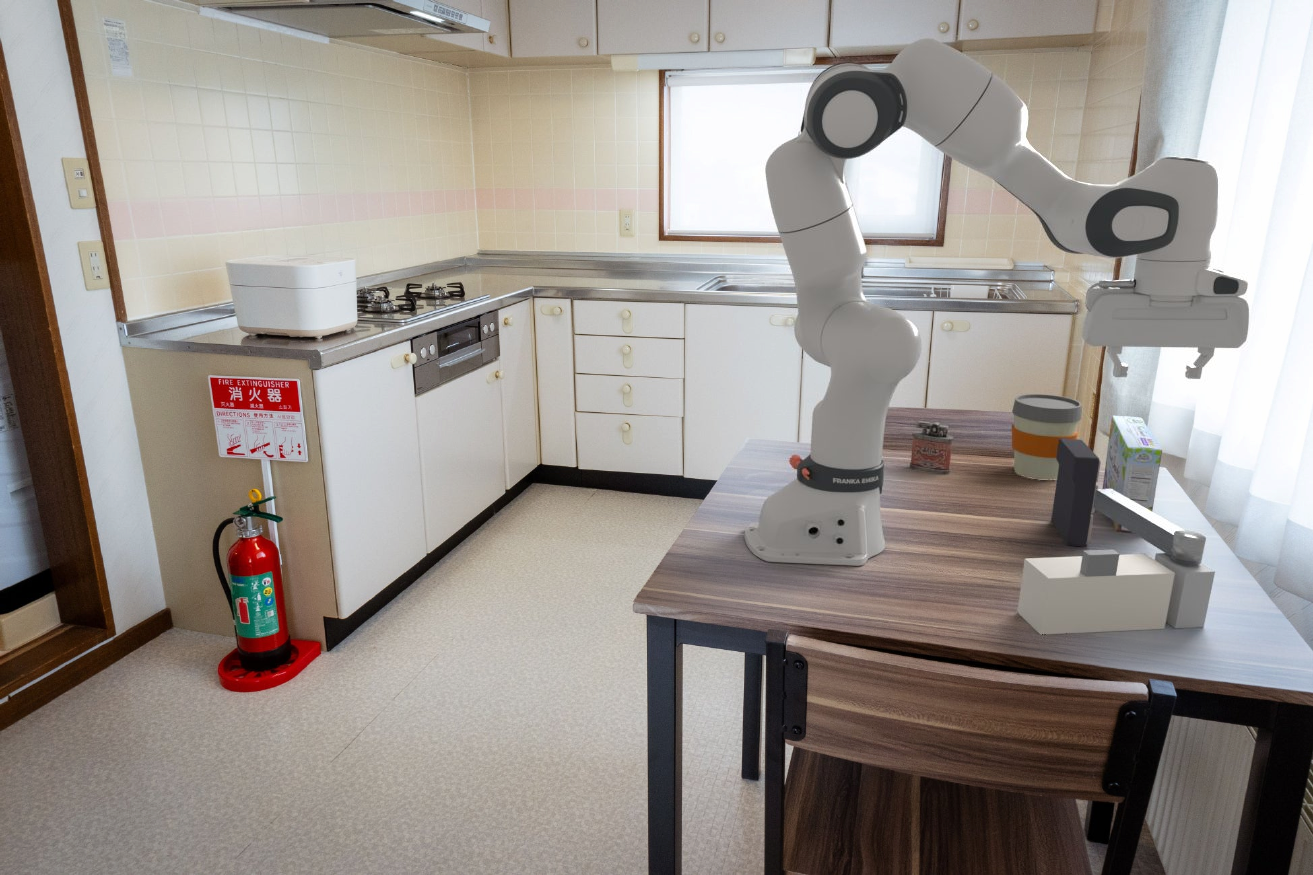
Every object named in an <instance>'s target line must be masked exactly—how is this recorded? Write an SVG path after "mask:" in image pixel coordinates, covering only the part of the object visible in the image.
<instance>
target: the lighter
mask: <svg viewBox="0 0 1313 875" xmlns="http://www.w3.org/2000/svg"><path fill="white" fill-rule="evenodd" d="M916 429H922V431H921V430H916V431H913V432H912V435H911V436H912V444H911V445H912V446H911V456H910V457H911V458H910V462H909V469H911V470H915V471H919V472H923V473H929V474H935V475H945V476H946V475H950V473H951V468H950V466H951V457H952V448H953V443H954V438H955V437H954V436H952V435H948V432H949V426H948V425H943V424H941V423H940V422H938V421H935V422H933V423H930V422H929V421H921V420H919V421H917V422H916ZM928 430H929V431H928Z"/></svg>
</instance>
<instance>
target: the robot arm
mask: <svg viewBox="0 0 1313 875" xmlns="http://www.w3.org/2000/svg"><path fill="white" fill-rule="evenodd" d="M1028 113H1029V112H1028V109H1027V105H1026V104H1025V103H1024V101H1023V100H1022V99H1021V98H1020V96H1019V95H1018V94H1017V93H1016V92H1015V91H1014V89H1013V88H1011V87H1010V86H1009V84H1008V83H1007V82H1005V81H1004V80H1003V79H1001V78H1000V77H999V76H998V75H996V74H995V73H993V72H992V71H991V70H990V69H988V68H987V67H986V66H984V65H983V64H981V63H980V62H978V61H976V60H975V59H973V58H972V57H970V56H968V55H967V54H965V53H963V52H962V51H961V50H958V49H955V48H954V47H952V46H950V45H948V44H946V43H943V42H940V41H939V40H937V39H934V38H921V39H917V40H916V41H914V42H912V43H910V44H909V45H907V46H906V47H905V48H903V49H902V50H901V51H900V52H899V53H898V54H897V55H896V56H895V58H894V59H893V61H892V62H891V64H889V65H888V66H887V67H885V68H883V69H880V70H872V69H870V68H868V67H867V66H865V65H862V64H861V63H856V62H853V61H852V62H851V61H846V62H839V63H835V64H833V65H831V66H829V67H826V68H825V69H824V70H823V71H822V72H821V73H819V74H818V76H817V77H815V79H814V80H813V82H812V84H811V86H810V88H809V90H808V92H807V95H806V100H805V104H804V111H803V115H802V116H803V117H802V120H801V126H800V134H798V136H796V137H794V138H792V139H790V140H787V141H786V142H784V143H782V144H780V146H778V147H777V148H776V149H774V150H773V152H772V153H771V154H770V155H769V157H768V159H767V161H766V164H765V170H764V171H765V180H766V188H767V192H768V197H769V198H768V200H769V203H770V206H771V210H772V215H773V219H774V222H775V225H776V229H777V231H778V232H777V233H778V234H779V238H780V240H781V244H782V247H783V249H784V253H785V255H786V258H787V261H788V264H789V268H790V270H791V273H792V274H791V275H792V277H793V281H794V286H795V294H796V301H797V302H796V304H797V315H796V318H795V321H794V326H793V328H794V329H793V330H794V337H795V340H796V342H797V344H798V345H799V347H800V348H801V349H802V351H804V352H805V353H806V354H807V355H808V357H810V358H811V359H812V360H814V361H815V362H817V363H819V364H822V365H824V366H827V367H828V368H830V372H831V373H830V379H829V382H828V386H827V388H826V391H825V394H824V396H823V399H821V400H819V402H818V403H816V405H814V407H813V411H812V417H811V419H812V420H811V421H812V422H811V433H810V434H811V436H810V439H811V440H810V452H809V455H808V456H806V457H805V458H804V459H802V458H801V456H800V455H798V454H792V455H791V456H790V457H789V459H788V462H789V464H790V465H791V468H793V470H796V478H794V480H793V481H791V482H790V483H788V484H787V485H785V486H783V487H782V488H781V489H779V490H778V491H775V492H774V493H773V494H771V495H770V496H768V497H767V498H766V499H765V500H764V501H763V504H762V507H761V509H760V512H759V518H758V521H757V522H752V523H749V524H748V525H747V526H746V527H745V530H744V541H745V545H746V546H747V547H748V549H749V550H750V552H751V553H753V555H755V556H756V557H757V558H759V559H761V560H763V561H765V562H768V563H769V562H770V563H787V564H788V563H789V564H790V563H792V564H811V565H812V564H813V565H833V566H834V565H836V566H855V567H856V566H858V567H859V566H863V565H865V564H866V563H867V562H868V560H869V559H870V558H872V557H875V556H876V555H879V554H880V553H882V552H883V551H884V550H885V548H886V540H885V537H884V533H883V525H882V517H881V495H882V493H883V492H882V491H883V486H884V479H885V467H884V466H885V463H884V460H883V448H884V447H883V446H884V436H885V429H886V427H885V426H886V420H887V413H888V411H889V407H890V403H891V401H892V398H893V395H894V393H895V391H896V389H897V387H898V385H899V383H900V382H901V381H902V380H903V379H905V378H906V377H907V376H908V375H910V373H912V372H913V370H914V369H915V368H916V366H917V365H918V362H919V359H920V358H921V354H922V338H921V334H920V332H919V329H918V328H917V326H916V325H914V323H913V322H912V321H910V320H909V319H908V318H906V317H905V316H903V315H902V314H900V313H898V311H896V310H894V309H892V308H889V307H885V306H882V305H879V304H878V305H877V304H874V303H870V302H869V301H868V300H867V299H866V296H865V294H864V292H863V290H864V289H863V284H862V283H863V282H862V281H863V280H862V279H863V278H862V273H863V272H862V269H863V267H864V265H865V264H866V261H867V257H868V251H867V250H868V249H867V247H866V246H867V245H866V243H865V239H864V237H863V234H862V230H861V226H860V224H859V221H858V216H857V213H856V209H855V207H854V203H853V200H852V196H851V194H850V191H849V187H848V184H847V179H846V172H845V170H846V163H847V160H851V159H856V158H860V157H863V156H864V155H866V154H868V153H870V152H871V151H873V150H875V149H876V148H877V147H878V146H879V145H881V144H882V143H883V142H884V141H886V140H887V139H888V138H889V137H891V136H892V135H894V134H895V133H896V132H898V131H899V130H900V129H901V128H902V127H903V128H906V129H908V130H911V131H912V132H914V133H916V134H917V135H918V136H920V137H922V138H923V139H924V140H925V141H926V142H928V143H929V144H931V145H932V146H934V147H935V148H936V150H937V149H938V150H939V151H940V152H942V154H945V155H946V156H948V157H949V158H951V159H952V160H954V161H956V162H958V163H959V164H961V165H963V166H966V167H967V168H969V169H971V170H974V171H976V172H978V173H979V174H982V175H984V176H986V177H988V178H990V179H991V180H993V181H994V182H995V183H997V184H998V185H1000V186H1001V187H1002V188H1003V189H1005V190H1006V191H1007V192H1009V193H1010V194H1011V195H1012V196H1014V198H1016V199H1017V200H1018V201H1020V202H1021V204H1023V205H1024V206H1026V207H1028V209H1029V210H1031V211H1032V212H1033V213H1034V214H1035V215H1036V218H1037V219H1038V220H1039V222H1040V224H1041V225H1042V228H1043V230H1044V232H1045V233H1046V236H1047V237H1048V239H1049V241H1050V242H1051V243H1052V244H1053V245H1054V246H1055V247H1056V248H1057V249H1059V250H1061V251H1063V252H1065V253H1068V254H1075V255H1080V254H1081V255H1089V256H1094V257H1101V258H1107V259H1121V258H1125V257H1130V256H1135V255H1136V258H1135V259H1136V260H1135V267H1134V275H1133V279H1118V280H1110V279H1101V280H1099V281H1098V282H1097V283H1093V284H1092V285H1091V286H1089V288H1087V291H1086V292H1085V293H1086V294H1085V303H1084V304H1085V307H1086V309H1087V310H1086V311H1087V312H1086V314H1085V318H1084V322H1083V327H1082V334H1081V336H1082V338H1083V340H1084V342H1086V344H1088V345H1089V346H1090V347H1107V350H1106V352H1107V354H1108V356H1109V357H1110V360H1111V362H1112V363H1113V370H1112V375H1113V377H1114V378H1127V376H1128V373H1127V372H1128V370H1129V365H1128V364H1126V363H1124V362H1121V360H1120V358H1119V355H1121V354H1122V351H1123V348H1125V347H1126V348H1127V347H1129V348H1196V349H1197V353H1198V354H1200V355H1199V356H1197V358H1196V359H1195V361H1194V362H1193V363H1192V364H1188V363H1187V364H1186V367H1185V370H1186V371H1185V373H1184V375H1185V378H1187V379H1189V380H1191V379H1192V380H1200V379H1201V377H1202V373H1203V368H1204V367H1205V366H1206V365H1207V364H1208V363H1209V362H1210V360H1211V359H1212V358H1213V357H1214V353H1215V349H1238V348H1240V347H1242V345H1243V344H1245V343H1246V341H1247V338H1248V332H1249V324H1250V309H1249V304H1248V302H1247V300H1246V299H1245V298H1244V297H1243V295H1245V294H1246V293H1247V290H1248V287H1249V286H1248V285H1249V284H1248V281H1247V280H1245V279H1244V278H1242V277H1238V276H1236V275H1233V274H1229V273H1225V272H1224V271H1223V270H1220V269H1217V268H1213V269H1211V266H1210V265H1211V259H1212V252H1211V246H1210V245H1211V238H1212V236H1213V233H1214V231H1215V230H1216V227H1217V220H1218V214H1219V206H1220V205H1219V204H1220V194H1221V180H1220V178H1221V177H1220V173H1219V170H1218V168H1217V166H1215V165H1214V164H1213V163H1212V162H1210V161H1208V160H1205V159H1200V158H1195V157H1181V156H1162V157H1160V158H1157V159H1156V160H1155V161H1154V162H1153V163H1152V164H1151V165H1149V166H1148V167H1146V168H1144V169H1143V170H1141V171H1139V172H1138V173H1136V174H1134V175H1133V174H1132V175H1131V176H1129V177H1127V178H1125V179H1122V180H1120V181H1117V182H1114V184H1097V183H1091V182H1084V181H1079V180H1075V179H1073V178H1071V177H1069V176H1067V175H1066V174H1064V172H1062V170H1060V169H1058V168H1057V166H1055V165H1054V164H1053V163H1052V162H1050V161H1049V160H1048V159H1047V158H1046V157H1044V156H1043V155H1042V154H1041V153H1039V152H1038V151H1036V149H1035V148H1034V147H1033V146H1032V145H1031V144H1030V143H1029V141H1028V139H1027V135H1026V133H1027V129H1028V123H1029V115H1028Z"/></svg>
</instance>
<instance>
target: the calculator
mask: <svg viewBox="0 0 1313 875" xmlns="http://www.w3.org/2000/svg"><path fill="white" fill-rule="evenodd" d="M1056 460H1057V461H1058V463H1059V469H1058V476H1057V480H1056V483H1055V484H1056V486H1055V491H1054V497H1053V504H1052V513H1051V519H1050V520H1051V523H1052V524H1053V525H1054V527H1055V529H1056V531H1057V532H1058V534H1059V535H1060V538H1061V539H1062V540H1063V541H1064V544H1065V545H1066V546H1074V547H1075V546H1076V547H1086V546H1087V544H1090V542H1091V536H1092V530H1093V529H1092V528H1093V522H1094V515H1093V513H1094V514H1095V512H1096V511H1095V510H1096V509H1094V508H1093V505H1094V498H1095V492H1096V489H1099V485H1098V482H1099V476H1100V472H1101V471H1100V470H1101V464H1102V461H1101V459H1100V457H1098V456H1097V455H1096V454H1095V452H1094V451H1093V450H1092V449H1091V448H1090V447H1089V445H1087V444H1086V442H1084V441H1083V440H1082V439H1078V438H1076V439H1061V438H1060V439H1059V442H1058V449H1057V456H1056Z"/></svg>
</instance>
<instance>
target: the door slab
mask: <svg viewBox="0 0 1313 875" xmlns="http://www.w3.org/2000/svg"><path fill="white" fill-rule="evenodd" d="M1174 576H1175V573H1174V572H1172V571H1171V570H1169V569H1168V568H1166V567H1165V566H1163V565H1162V564H1160V563H1159V562H1157V561H1155V558H1152V557H1150V556H1149V555H1148V554H1146V553H1137V554H1136V553H1132V554H1120V552H1118V551H1116V550H1115V549H1092V550H1091V549H1089V550H1087V549H1086V550H1083V551H1082V555H1081V556H1080V555H1079V556H1060V557H1059V556H1058V557H1057V556H1056V557H1055V556H1054V557H1032V558H1030V557H1029V558H1024V561H1023V570H1022V577H1021V584H1020V590H1019V598H1018V599H1019V600H1018V606H1017V614H1018V615H1019V616H1021V618H1022V619H1024V620H1025V621H1026V622H1027V623H1028V624H1029V626H1031V628H1033V629H1034V630H1035V631H1036V632H1037V633H1038V634H1039V635H1040V636H1041V635H1042V634H1043V635H1044V634H1046V635H1061V634H1062V635H1064V634H1066V633H1067V634H1082V633H1083V634H1085V633H1086V634H1087V633H1102V632H1103V633H1105V632H1106V633H1108V632H1122V631H1123V632H1126V631H1127V632H1128V631H1147V630H1149V631H1150V630H1152V631H1153V630H1164V629H1165V628H1166V627H1165V626H1166V623H1167V622H1166V618H1167V612H1168V607H1169V602H1170V597H1171V591H1172V586H1173V581H1174Z"/></svg>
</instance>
